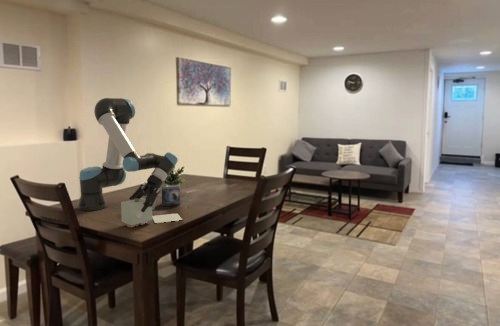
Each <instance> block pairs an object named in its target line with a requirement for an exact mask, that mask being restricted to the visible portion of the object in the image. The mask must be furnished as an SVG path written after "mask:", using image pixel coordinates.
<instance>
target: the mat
mask: <svg viewBox="0 0 500 326" xmlns="http://www.w3.org/2000/svg"><path fill="white" fill-rule="evenodd" d="M179 220H183V218H182V217H181V216H180V215H179V214H178V213H167V214H157V215H156V214H155V215H152V221H153V222H154V224H155V223H157V224H164V222H166V223H172V222H171V221H175V222H180V221H179Z"/></svg>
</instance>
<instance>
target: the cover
mask: <svg viewBox="0 0 500 326" xmlns="http://www.w3.org/2000/svg"><path fill="white" fill-rule="evenodd" d="M144 198H145V197H144ZM144 198H143V197H141V198H140V199H139V198H135V199H134V200H130V199H129V200H124V201H121V202H120V207H121V222H122V223H125V224H126V225H127V224H129V225H136V224H138V225H140V224H139V223H143V222H146V221H148V222H149V221H153V218H152V216H153V210H152V207H147V209H146V210H145V212H143V214H142V215H141V217H140V218H137V217H136V216H135V214H136V213H137V212H138V210H139V209H140V207H141V206H142V204H143V203H145V200H146V199H144ZM150 204H151V203H150Z"/></svg>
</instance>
